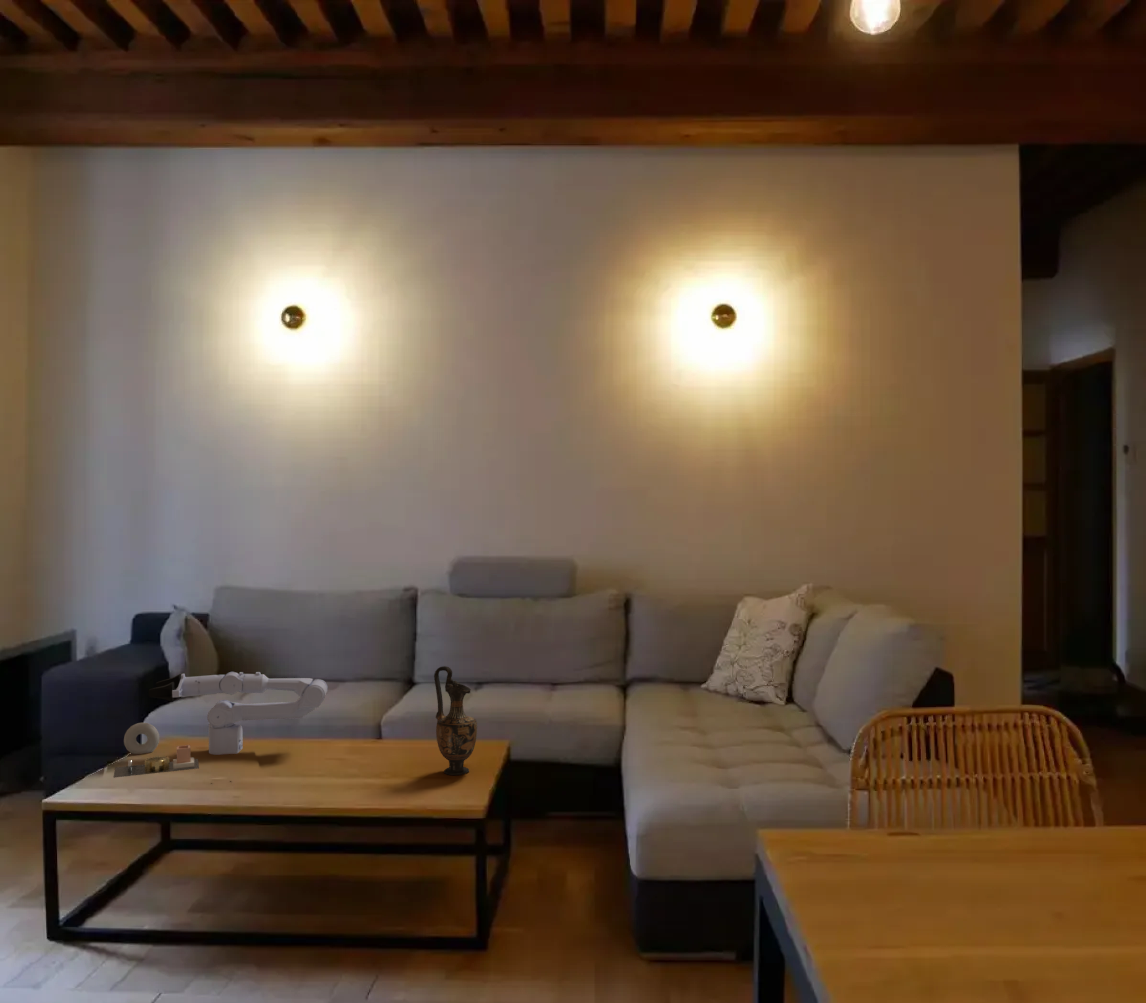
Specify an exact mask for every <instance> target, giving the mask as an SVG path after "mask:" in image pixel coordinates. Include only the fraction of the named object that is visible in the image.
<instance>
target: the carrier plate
mask: <svg viewBox="0 0 1146 1003" xmlns="http://www.w3.org/2000/svg"><path fill="white" fill-rule="evenodd" d="M196 769H200V765H199V758H194V767H186V768H177V769H173V761H170V757H168V756H167V755H166V756H165V755H162V756H159V755H156V756H153V757H147V758H146V759H144V764H136V765H133V759H128V760H127V765H126V766H118V767H116V766H115V768H114V774H113V778H115V779H116V778H122V777H132V776H141V775H150V774H157V773H158V774H160V773H169V772H177V771H178V772H179V771H185V770H189V771H190V770H196Z"/></svg>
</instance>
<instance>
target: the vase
mask: <svg viewBox="0 0 1146 1003" xmlns="http://www.w3.org/2000/svg"><path fill="white" fill-rule="evenodd" d="M441 671H442V672H443V671H444V672H446V674H447V676H446V680H445V684H444V685H445V686H444V689H445V692H446V693H447V694H448V696H449V699H450V705H449V706H450V707H449V712H448V714H447V715H445V714H444V702H443V694H442V687H441V681H440V676H439V675H440V672H441ZM452 677H453V670H452V669H451V667H449V666H446V665H443V666H440V667H438V668H437V669H435V671H434V674H433V678H434V684H435V685H434V687H435V692H436V698H437V699H436V700H437V701H436V702H437V712H436V715H435V719H436V720H437V721H436V727H435V733H436V734H435V738H436V742H437V747H438V750H439V752H440V754H441V755H442V757H443V758H444V759H446V760H447V761H448V767H447V768H445V769H444V771H443V773H444V774H445V775H449V776H461V775H462V774H463V775H466V774H468V773H470V769H469V768H468V767H465V766H464V763H465V761H466V760H467V759H468V758H470V756H471V755H472V754H473V751H474V749H475V746H476V741H477V736H478V722H477V719H476V718H475V717H473V716H468V715H466V713H465V711H464V697H465V696H466V695H467V694H471V691H472V689H471V688H469V687H468V686H466V685H464V684H462V683H460V682H458V681H457V680H453V679H452ZM467 772H468V773H467ZM465 773H466V774H465Z"/></svg>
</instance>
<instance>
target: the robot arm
mask: <svg viewBox="0 0 1146 1003" xmlns="http://www.w3.org/2000/svg"><path fill="white" fill-rule="evenodd" d="M267 690H273V691H288V692H289V691H290V692H294V693H295V694H296V695H298V697H299V698H298V699H297V700H296V701H285V702H284V701H283V702H281V701H280V702H257V703H241V702H233V701H230V700H228V699H221V700H219V701H217V702H216V703H215V704H214V706H213V707H212V708H210V710H209V711H208V712H207V714H206V715H207V716H206V717H207V722H208V754H210V755H229V754H230V755H233V754H234V755H235V754H236V755H237V754H238V753H239V752H241V751H242V750H243V748H244V747H243V745H244V743H243V742H244V741H243V740H244V739H243V735H244V734H243V726H242V725H241V724H235V723H239V722H241V721H243V722H245V721H260V720H261V721H263V720H287V719H302V718H304V717H305V716H307V715H308V714H310V713H312V712H313V711H315V710H317V709H318V708H319V707H320V706H321V704H322V703H323V701H324V700H325V698H326V695H327V694H328V692H329V687H328V684H327V682H326V681H325V680H323V679H320V678H315V679H314V678H310V677H295V678H294V677H287V678H286V677H285V678H284V677H283V678H281V677H280V678H277V677H276V678H269V677H268V676H267V675H266V674H263V673H262V674H261V672H260V671H256V672H255V673H244V671H240V672H239V673H238V672H235V671H230V672H227V673H226V674H211V675H198V676H197V675H196V676H186V674H185V673H179V674H176V675H175V676H172V677H171V678H167V679H163V680H160V681H157V682H155V687H153V688H152V687H151V688H150V689H148V696H149V698H155V699H156V698H157V699H161V700H166V701H167V702H168V701H169V703H170V702H171V703H173V702H174V701H175V698H180V697H181V698H186V697H195V696H205V695H206V696H207V695H217V694H225V695H230V696H232V695H235V694H237V693H238V692H239V693H241V694H264V693H265V692H266V691H267Z"/></svg>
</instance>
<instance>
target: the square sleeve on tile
mask: <svg viewBox="0 0 1146 1003" xmlns="http://www.w3.org/2000/svg"><path fill="white" fill-rule="evenodd" d="M194 759H195V757H192V756H191V745H190V744H186V745H177V746H176V758H174V759H172V762H173V769H177V768H186V767H194Z"/></svg>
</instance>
